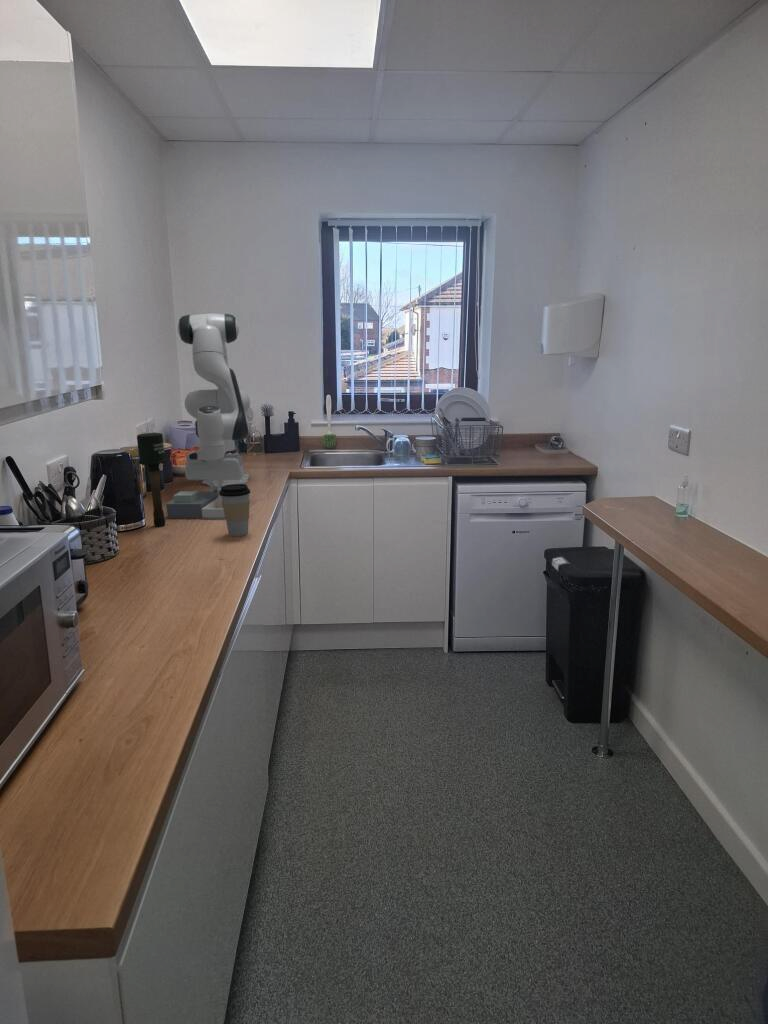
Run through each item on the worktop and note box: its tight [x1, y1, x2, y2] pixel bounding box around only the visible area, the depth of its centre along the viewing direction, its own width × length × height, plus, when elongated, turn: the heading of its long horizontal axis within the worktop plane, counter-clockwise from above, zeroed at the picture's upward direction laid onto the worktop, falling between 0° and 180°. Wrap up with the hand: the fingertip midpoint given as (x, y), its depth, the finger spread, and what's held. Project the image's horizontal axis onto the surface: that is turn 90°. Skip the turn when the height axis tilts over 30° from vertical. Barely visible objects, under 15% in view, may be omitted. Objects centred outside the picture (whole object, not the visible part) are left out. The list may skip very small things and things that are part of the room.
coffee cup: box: [218, 483, 251, 537], centre depth 206 cm, size 9×9×15 cm
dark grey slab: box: [165, 491, 220, 519], centre depth 235 cm, size 18×12×5 cm, turn 175°
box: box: [201, 495, 225, 520], centre depth 234 cm, size 20×10×4 cm, turn 175°
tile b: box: [173, 490, 198, 503], centre depth 230 cm, size 6×6×2 cm
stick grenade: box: [136, 432, 168, 528], centre depth 215 cm, size 8×9×30 cm
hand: (216, 491), depth 237 cm, fingers closed
